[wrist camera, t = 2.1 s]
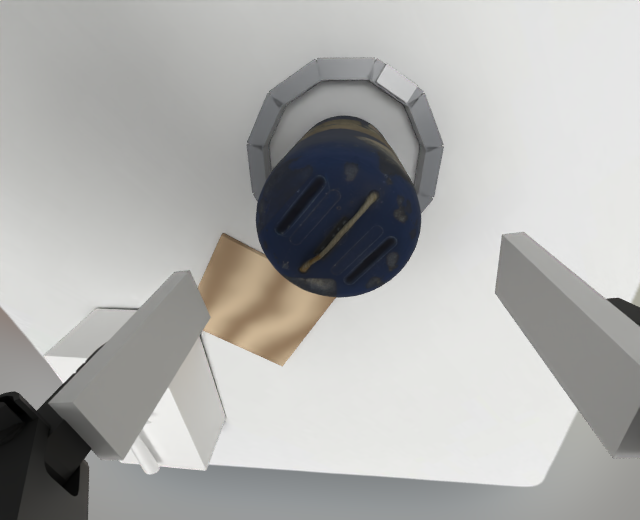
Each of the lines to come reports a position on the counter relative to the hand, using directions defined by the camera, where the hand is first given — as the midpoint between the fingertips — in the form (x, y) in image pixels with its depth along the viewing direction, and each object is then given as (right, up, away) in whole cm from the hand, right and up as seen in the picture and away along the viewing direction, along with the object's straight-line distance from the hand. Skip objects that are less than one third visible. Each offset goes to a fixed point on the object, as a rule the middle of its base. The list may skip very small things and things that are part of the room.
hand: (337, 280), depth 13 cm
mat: (-9, -5, +28) cm, 30 cm away
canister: (+2, +11, +18) cm, 21 cm away
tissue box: (-25, -17, +36) cm, 47 cm away
